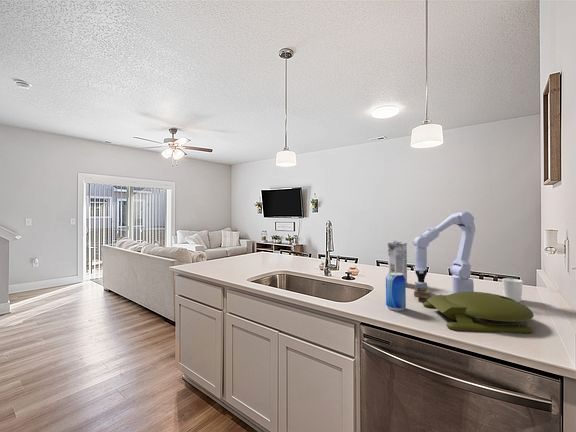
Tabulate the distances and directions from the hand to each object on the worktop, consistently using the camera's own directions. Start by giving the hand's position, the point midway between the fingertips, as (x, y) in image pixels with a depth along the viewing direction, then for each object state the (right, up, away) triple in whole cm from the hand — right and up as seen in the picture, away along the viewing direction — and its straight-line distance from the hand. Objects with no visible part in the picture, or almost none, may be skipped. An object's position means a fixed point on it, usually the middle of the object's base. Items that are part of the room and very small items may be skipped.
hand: (421, 284), depth 149 cm
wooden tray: (-1, -5, -3) cm, 6 cm away
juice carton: (-3, -6, +25) cm, 25 cm away
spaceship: (+7, -6, -34) cm, 35 cm away
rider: (-1, -2, -3) cm, 4 cm away
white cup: (+40, -5, -11) cm, 42 cm away
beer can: (-22, -6, -22) cm, 32 cm away
